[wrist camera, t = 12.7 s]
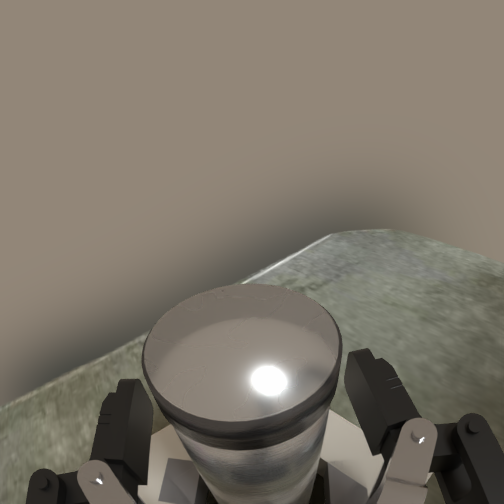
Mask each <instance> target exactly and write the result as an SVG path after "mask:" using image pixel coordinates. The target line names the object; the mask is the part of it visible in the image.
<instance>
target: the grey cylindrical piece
mask: <svg viewBox="0 0 504 504" xmlns="http://www.w3.org/2000/svg"><path fill="white" fill-rule="evenodd" d="M342 346H343V345H342V337H341V333H340V330H339V327H338V325H337V324H336V322H335V320H334V319H333V317H332V316H331V315H330V313H329V312H328V311H327V310H326V309H325V308H324V307H322V306H321V305H320V304H318V303H317V302H316V301H314V300H312V299H311V298H309V297H307V296H305V295H303V294H301V293H299V292H296V291H293V290H290V289H287V288H283V287H279V286H273V285H266V284H238V285H230V286H224V287H219V288H215V289H211V290H208V291H205V292H202V293H199V294H196V295H194V296H192V297H190V298H188V299H186V300H184V301H182V302H181V303H179V304H177V305H176V306H174V307H173V308H172V309H170V310H169V311H168V312H167V313H166V314H164V315H163V316H162V318H161V319H160V320H159V321H158V322H157V323H156V324H155V326H154V327H153V328H152V329H151V331H150V333H149V334H148V336H147V338H146V341H145V343H144V346H143V351H142V368H143V373H144V376H145V379H146V381H147V383H148V386H149V388H150V390H151V392H152V394H153V396H154V398H155V400H156V402H157V404H158V406H159V408H160V410H161V412H162V413H163V415H164V416H165V418H166V419H167V420H168V421H169V422H170V424H171V425H172V426H173V427H174V429H175V431H176V433H177V435H178V437H179V439H180V440H181V442H182V444H183V446H184V448H185V449H186V451H187V453H188V455H189V456H190V458H191V460H192V462H193V463H194V465H195V467H196V468H197V470H198V472H199V473H200V475H201V477H202V478H203V480H204V482H205V483H206V485H207V486H208V488H209V490H210V491H211V493H212V494H213V496H214V497H215V499H216V500H217V502H218V503H219V504H309V501H310V497H311V493H312V489H313V485H314V481H315V477H316V473H317V468H318V464H319V459H320V455H321V450H322V445H323V440H324V435H325V430H326V425H327V420H328V414H329V409H330V403H331V401H332V399H333V397H334V395H335V391H336V387H337V383H338V377H339V371H340V364H341V358H342Z"/></svg>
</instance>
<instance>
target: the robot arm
mask: <svg viewBox="0 0 504 504" xmlns="http://www.w3.org/2000/svg"><path fill="white" fill-rule="evenodd" d="M344 383H345V388H346V391H347V394H348V396H349V399H350V401H351V404H352V406H353V409H354V411H355V413H356V416H357V418H358V421H359V423H360V426H361V428H362V431H363V433H364V436H365V438H366V441H367V443H368V446H369V448H370V451H371V453H372V456H375V455H379V454H382V457H383V459H384V461H383V463H382V466H381V468H380V471H379V473H378V476H377V478H376V481H375V483H374V486H373V488H372V490H371V493H370V495H369V497H368V500H367V502H366V503H365V504H424V502H425V499H426V495H427V490H428V488H427V486H426V480H427V476H428V473H432V472H434V473H435V476H436V478H437V481H438V483H439V486H440V489H441V491H442V494H443V497H444V500H445V502H446V504H504V453H503V451H502V449H501V447H500V445H499V444H498V442H497V440H496V438H495V436H494V434H493V432H492V430H491V428H490V427H489V425H488V423H487V421H486V420H485V419H484V418H483V417H482V416H481V415H478V414H475V413H470V414H466V415H464V416H463V417H462V418H461V419H460V420H459V421H458V423H449V424H433V423H432V422H431V421H429V420H427V419H424V418H422V417H421V416H420V415H419V413H418V411H417V409H416V408H415V406H414V404H413V402H412V400H411V398H410V397H409V395H408V393H407V391H406V389H405V388H404V386H402V382H401V381H400V379H399V378H398V375H397V374H396V372H395V370H394V368H393V367H392V365H390V364H389V363H388V362H387V361H385V360H384V359H383V358H380V359H376V360H375V358H374V356H373V354H372V353H371V351H370V350H369V349H368V348H365V349H361V350H357V351H352V352H349V354H348V359H347V365H346V370H345V376H344ZM152 422H153V407H152V403H151V401H150V399H149V397H148V395H147V393H146V391H145V389H144V387H143V385H142V383H141V381H140V379H120V380H119V382H118V386H117V391H116V393H109V394H108V396H107V397H106V398H105V400H104V401H103V403H102V407H101V411H100V416H99V419H98V425H97V428H96V433H95V438H94V442H93V447H92V452H91V457H90V459H89V461H88V462H86V463H84V464H83V465H82V466H81V467H80V469H79V470H78V471H75V472H70V473H65V474H59V475H56V474H55V473H54V472H53V471H51V470H49V469H39V470H37V471H36V472H34V473H33V474H32V476H31V478H30V481H29V487H28V492H27V499H26V504H145V502H144V501H143V500H142V499H141V497H140V496H139V495H138V485H147V483H148V468H149V455H150V443H151V432H152Z"/></svg>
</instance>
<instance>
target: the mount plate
mask: <svg viewBox="0 0 504 504" xmlns="http://www.w3.org/2000/svg"><path fill="white" fill-rule="evenodd" d="M383 461H384V459H383V457H382V454H379V455H375V456H372V453H371V451H370V448H369V446H368V443H367V441H366V438H365V436H364V433H363V431H362V429H360V428H359V427H357V426H355V425H354V424H352V423H350V422H349V421H347V420H346V419H344V418H342V417H341V416H339V415H338V414H336V413H335V412H333V411H331V410H330V409H329V414H328V420H327V425H326V430H325V435H324V440H323V445H322V450H321V455H320V459H319V464H318V468H317V473H318V474H319V475H321V476H322V477H323V479H324V496H325V504H365V503H366V502H367V500H368V497H369V495H370V493H371V490H372V488H373V486H374V483H375V481H376V478H377V476H378V473H379V471H380V468H381V466H382V463H383ZM432 473H433V472H432ZM432 473H428V476H427V480H426V482H427V481H428V479H429V478H430V476H431V475H432ZM207 492H208V486H207V485H206V483H205V482H204V480H203V478H202V477H201V475H200V473H199V472H198V470H197V468H196V467H195V465H194V463H193V462H192V460H191V458H190V456H189V455H188V453H187V451H186V449H185V448H184V446H183V444H182V442H181V440H180V439H179V437H178V435H177V433H176V431H175V429H174V427H173V426H172V425H171V424H170V425H168V426H167V427H165V428H163V429H162V430H160V431H158V432H156V433H155V434H153V435H151V443H150V455H149V468H148V483H147V485H138V495H139V496H140V497H141V499H142V500H143V501H144V502H145V504H206V498H207Z"/></svg>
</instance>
